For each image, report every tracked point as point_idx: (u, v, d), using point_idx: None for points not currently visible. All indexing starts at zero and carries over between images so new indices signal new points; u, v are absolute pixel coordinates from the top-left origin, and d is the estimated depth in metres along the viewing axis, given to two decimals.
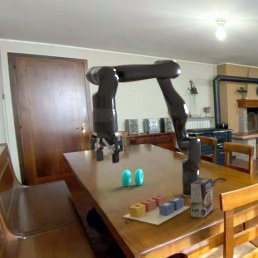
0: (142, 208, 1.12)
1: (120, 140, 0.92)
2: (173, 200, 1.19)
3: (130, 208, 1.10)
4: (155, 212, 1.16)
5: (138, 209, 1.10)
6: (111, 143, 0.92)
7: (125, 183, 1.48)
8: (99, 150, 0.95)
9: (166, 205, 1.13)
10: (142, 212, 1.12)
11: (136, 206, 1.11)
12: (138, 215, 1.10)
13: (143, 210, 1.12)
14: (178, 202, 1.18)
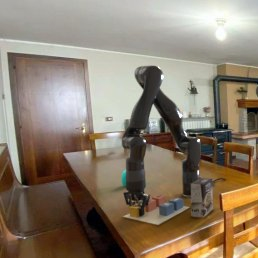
0: None
1: (148, 198, 1.10)
2: (173, 200, 1.19)
3: (130, 208, 1.10)
4: (155, 212, 1.16)
5: (138, 209, 1.10)
6: None
7: (125, 183, 1.48)
8: None
9: (166, 205, 1.13)
10: None
11: (136, 206, 1.11)
12: (138, 215, 1.10)
13: None
14: (178, 202, 1.18)
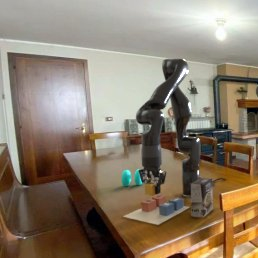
0: None
1: (164, 175, 1.05)
2: (173, 200, 1.19)
3: (145, 186, 1.06)
4: (155, 212, 1.16)
5: (154, 187, 1.05)
6: None
7: (125, 183, 1.48)
8: None
9: (166, 205, 1.13)
10: None
11: (152, 184, 1.06)
12: (154, 193, 1.06)
13: None
14: (178, 202, 1.18)
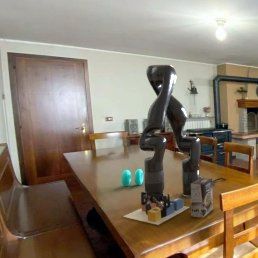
0: (160, 212, 1.08)
1: (168, 198, 1.06)
2: (173, 200, 1.19)
3: (148, 212, 1.07)
4: None
5: (157, 213, 1.06)
6: (160, 200, 1.07)
7: (125, 183, 1.48)
8: (148, 205, 1.09)
9: None
10: None
11: (154, 210, 1.07)
12: (157, 219, 1.06)
13: None
14: (178, 202, 1.18)
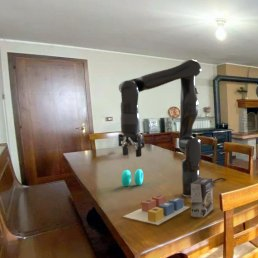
0: (160, 212, 1.08)
1: (142, 138, 1.16)
2: (173, 200, 1.19)
3: (148, 212, 1.07)
4: None
5: (157, 213, 1.06)
6: (135, 141, 1.17)
7: (125, 183, 1.48)
8: (125, 146, 1.20)
9: (166, 205, 1.13)
10: (161, 216, 1.09)
11: (154, 210, 1.07)
12: (157, 219, 1.06)
13: (161, 214, 1.09)
14: (178, 202, 1.18)
